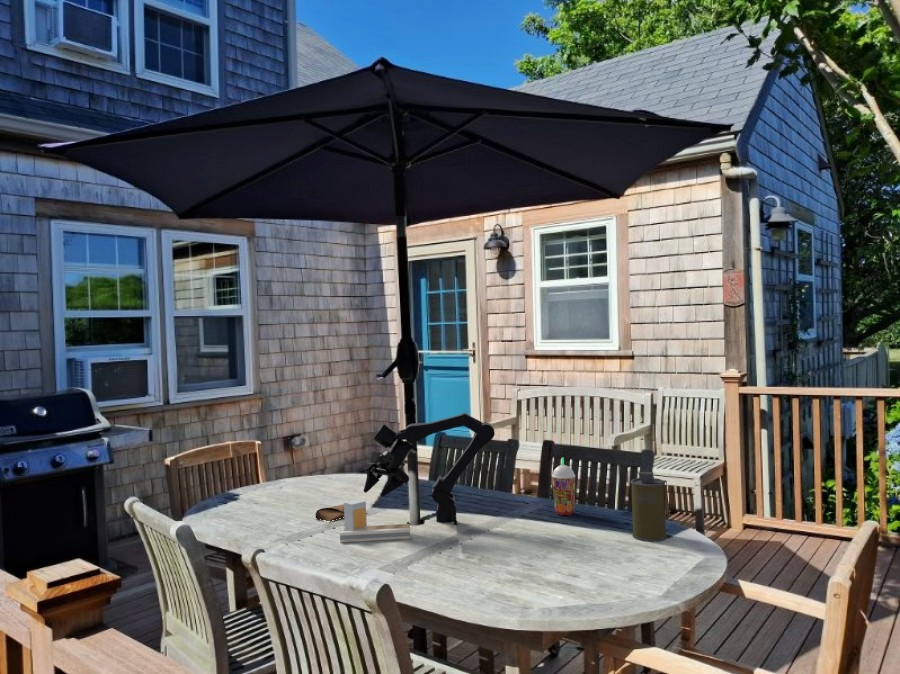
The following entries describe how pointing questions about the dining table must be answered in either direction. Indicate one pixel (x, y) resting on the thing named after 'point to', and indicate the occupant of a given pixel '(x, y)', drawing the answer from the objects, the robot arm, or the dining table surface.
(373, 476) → the robot arm
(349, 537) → the rail
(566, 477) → the smoothie
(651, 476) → the canister
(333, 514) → the sunglasses case
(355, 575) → the dining table surface
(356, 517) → the carton
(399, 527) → the shelf board
